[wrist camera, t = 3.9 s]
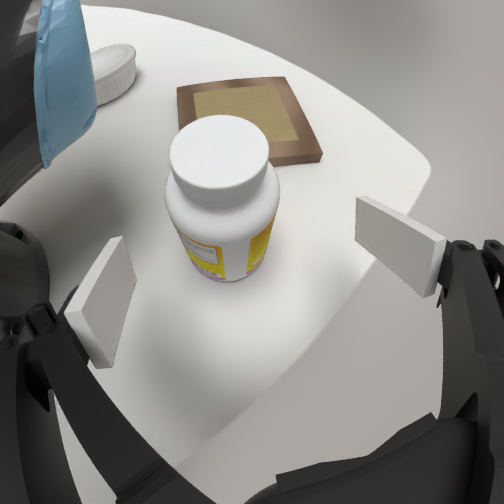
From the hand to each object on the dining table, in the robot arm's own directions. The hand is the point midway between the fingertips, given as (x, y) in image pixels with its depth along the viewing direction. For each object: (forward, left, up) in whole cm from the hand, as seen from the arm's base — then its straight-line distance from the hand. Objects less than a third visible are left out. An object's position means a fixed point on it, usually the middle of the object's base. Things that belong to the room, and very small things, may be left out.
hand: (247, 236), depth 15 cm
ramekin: (-15, +32, -9) cm, 36 cm away
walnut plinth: (+3, +18, -9) cm, 20 cm away
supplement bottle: (-1, +3, -9) cm, 10 cm away
